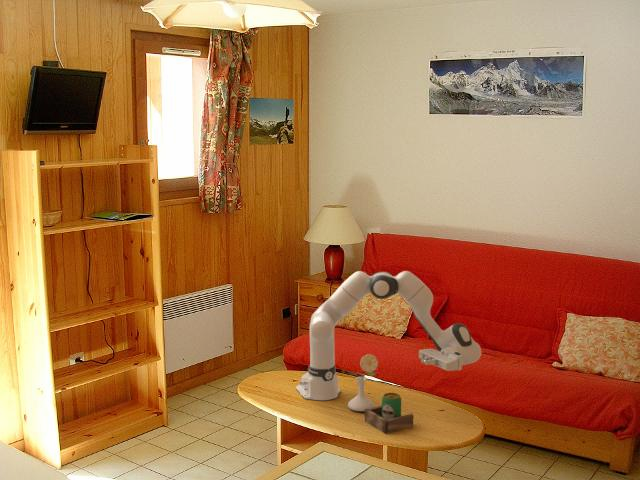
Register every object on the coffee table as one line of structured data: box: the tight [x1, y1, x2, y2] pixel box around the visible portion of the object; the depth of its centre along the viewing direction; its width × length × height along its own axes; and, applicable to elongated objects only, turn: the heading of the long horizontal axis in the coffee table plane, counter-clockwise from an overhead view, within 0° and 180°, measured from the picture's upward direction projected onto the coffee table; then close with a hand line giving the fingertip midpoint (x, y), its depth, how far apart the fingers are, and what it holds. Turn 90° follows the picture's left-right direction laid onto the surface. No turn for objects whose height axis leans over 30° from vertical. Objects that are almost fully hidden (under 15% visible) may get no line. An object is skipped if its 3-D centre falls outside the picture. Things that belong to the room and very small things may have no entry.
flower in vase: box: [347, 353, 379, 412], centre depth 329 cm, size 13×11×25 cm
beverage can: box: [381, 392, 402, 420], centre depth 315 cm, size 8×8×12 cm
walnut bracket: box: [364, 405, 414, 434], centre depth 315 cm, size 15×14×5 cm
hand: (423, 362), depth 320 cm, fingers closed
